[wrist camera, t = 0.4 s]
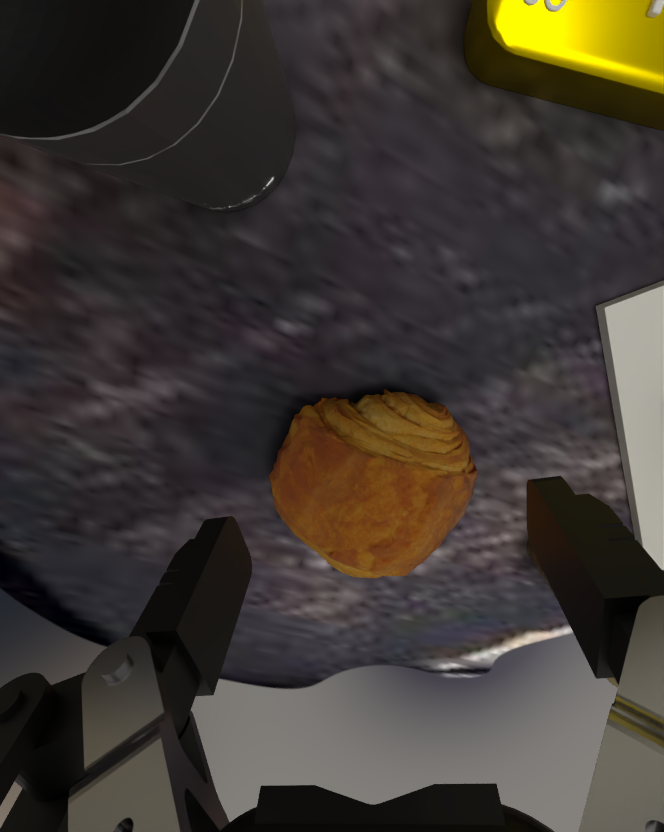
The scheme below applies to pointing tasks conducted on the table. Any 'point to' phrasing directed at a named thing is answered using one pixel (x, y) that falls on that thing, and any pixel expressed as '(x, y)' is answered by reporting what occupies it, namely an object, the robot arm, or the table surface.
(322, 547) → the croissant
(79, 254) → the table surface
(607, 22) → the element tile
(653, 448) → the cradle
